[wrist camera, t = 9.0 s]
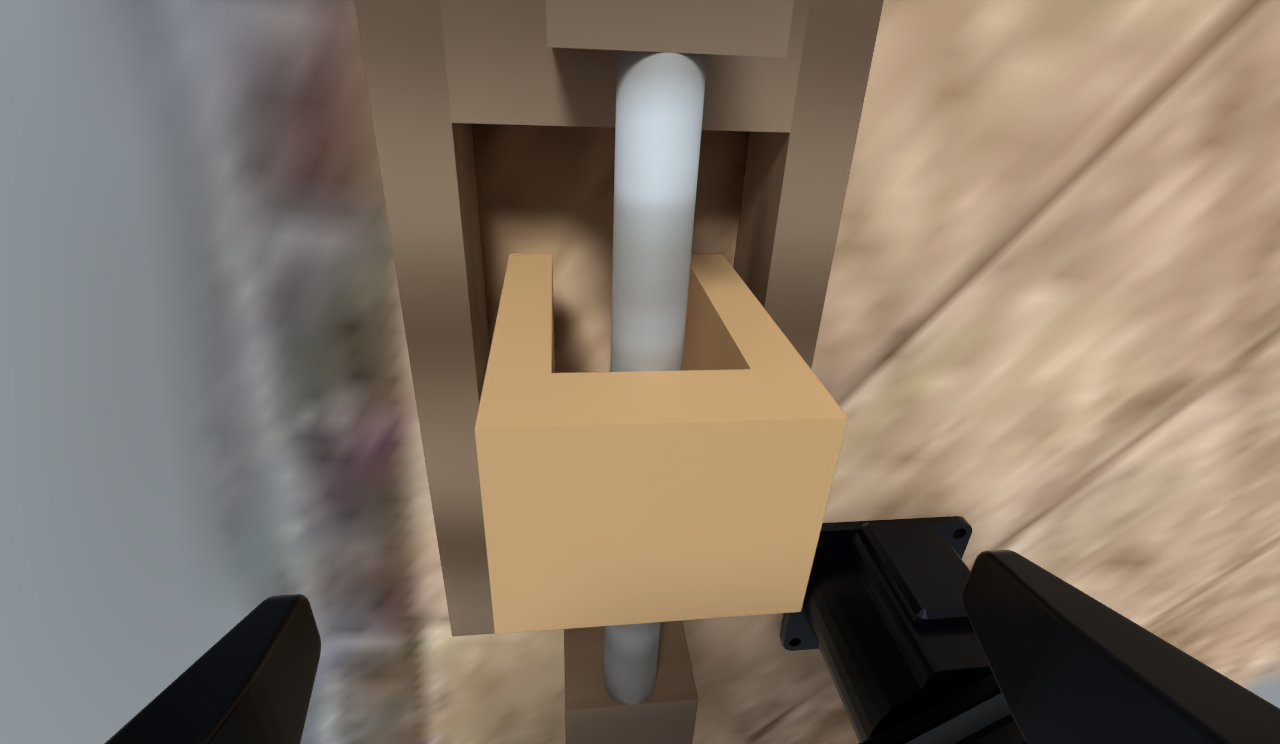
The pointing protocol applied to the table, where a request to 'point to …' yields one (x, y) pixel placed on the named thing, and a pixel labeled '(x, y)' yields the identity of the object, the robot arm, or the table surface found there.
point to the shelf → (642, 231)
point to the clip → (651, 466)
